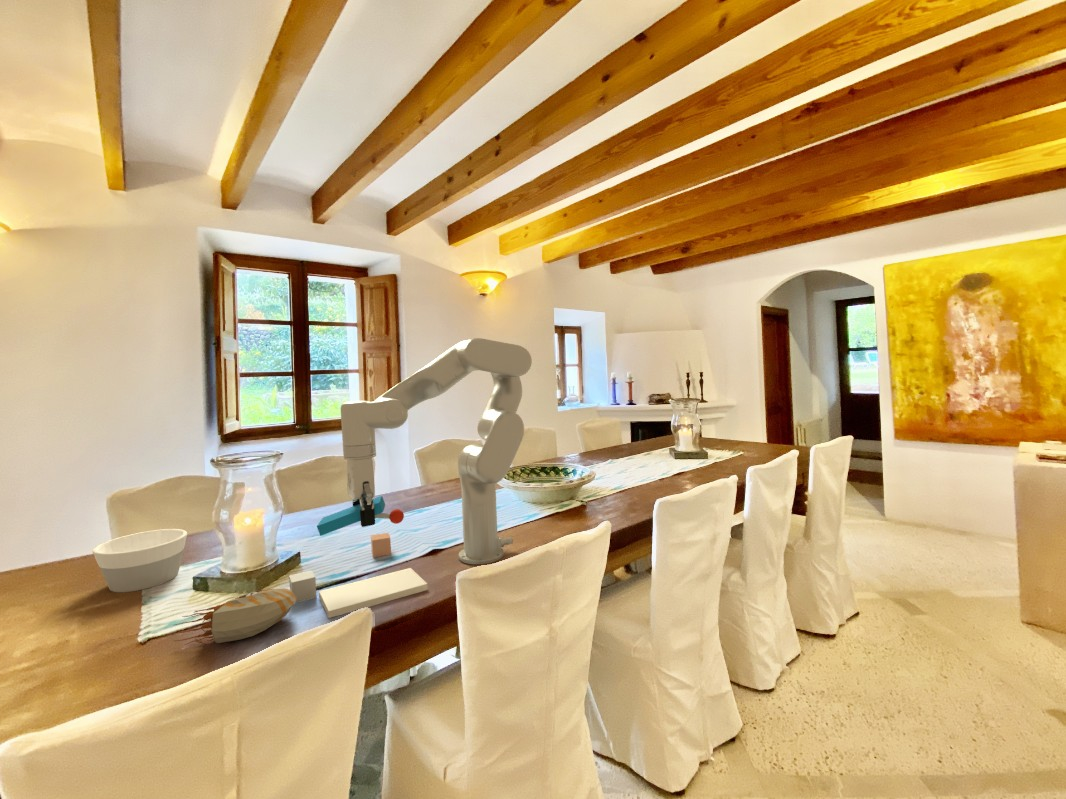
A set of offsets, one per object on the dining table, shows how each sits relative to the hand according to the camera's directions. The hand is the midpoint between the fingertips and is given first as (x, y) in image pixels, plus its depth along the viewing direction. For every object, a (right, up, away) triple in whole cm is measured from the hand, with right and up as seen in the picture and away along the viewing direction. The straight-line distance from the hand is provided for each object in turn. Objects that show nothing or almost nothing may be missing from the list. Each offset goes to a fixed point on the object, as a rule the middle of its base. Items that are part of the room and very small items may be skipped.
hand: (364, 520), depth 118 cm
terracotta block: (-3, -15, +22) cm, 27 cm away
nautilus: (-18, -18, -21) cm, 33 cm away
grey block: (-13, -17, -5) cm, 21 cm away
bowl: (-60, -18, +8) cm, 64 cm away
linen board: (+4, -16, -5) cm, 17 cm away
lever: (0, -2, 0) cm, 2 cm away
